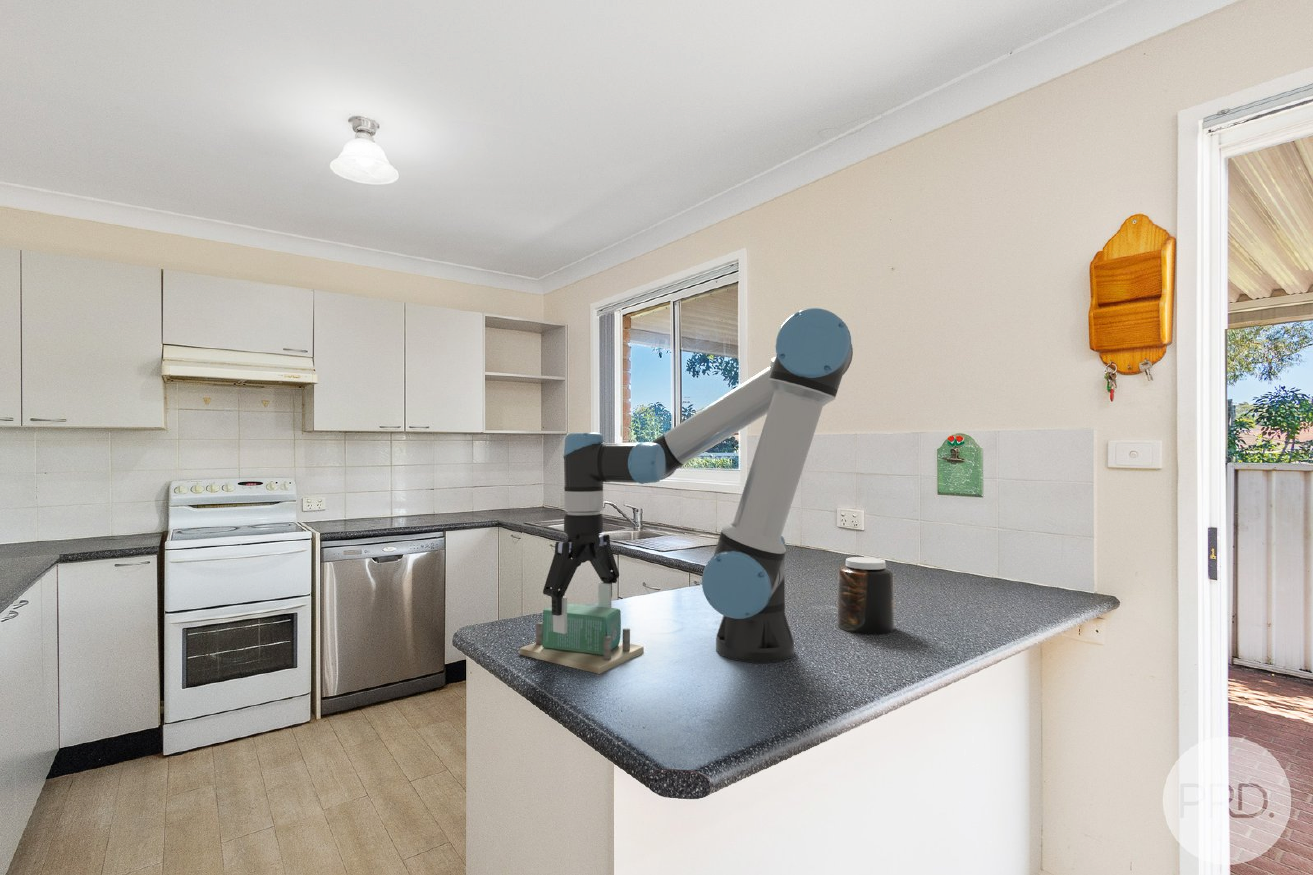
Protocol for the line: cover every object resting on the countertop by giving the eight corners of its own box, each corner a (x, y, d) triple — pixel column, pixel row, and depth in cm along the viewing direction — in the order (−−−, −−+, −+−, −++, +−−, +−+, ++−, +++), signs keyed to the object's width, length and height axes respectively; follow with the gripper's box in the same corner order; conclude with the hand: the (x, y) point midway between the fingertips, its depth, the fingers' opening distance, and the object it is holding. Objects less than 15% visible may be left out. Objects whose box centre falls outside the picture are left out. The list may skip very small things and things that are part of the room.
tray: (643, 652, 123) (643, 625, 123) (599, 674, 111) (599, 644, 111) (567, 636, 133) (568, 611, 133) (519, 654, 121) (520, 627, 121)
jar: (875, 638, 133) (875, 566, 133) (827, 626, 142) (827, 559, 142) (903, 628, 141) (903, 560, 141) (856, 617, 150) (856, 553, 150)
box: (607, 656, 116) (607, 615, 116) (541, 649, 120) (541, 609, 121) (621, 645, 123) (621, 606, 123) (558, 638, 127) (559, 601, 128)
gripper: (606, 507, 135) (606, 607, 134) (523, 517, 114) (522, 636, 113) (636, 508, 131) (636, 612, 130) (555, 519, 110) (554, 643, 109)
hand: (583, 623), depth 122 cm, fingers open, 13 cm apart
